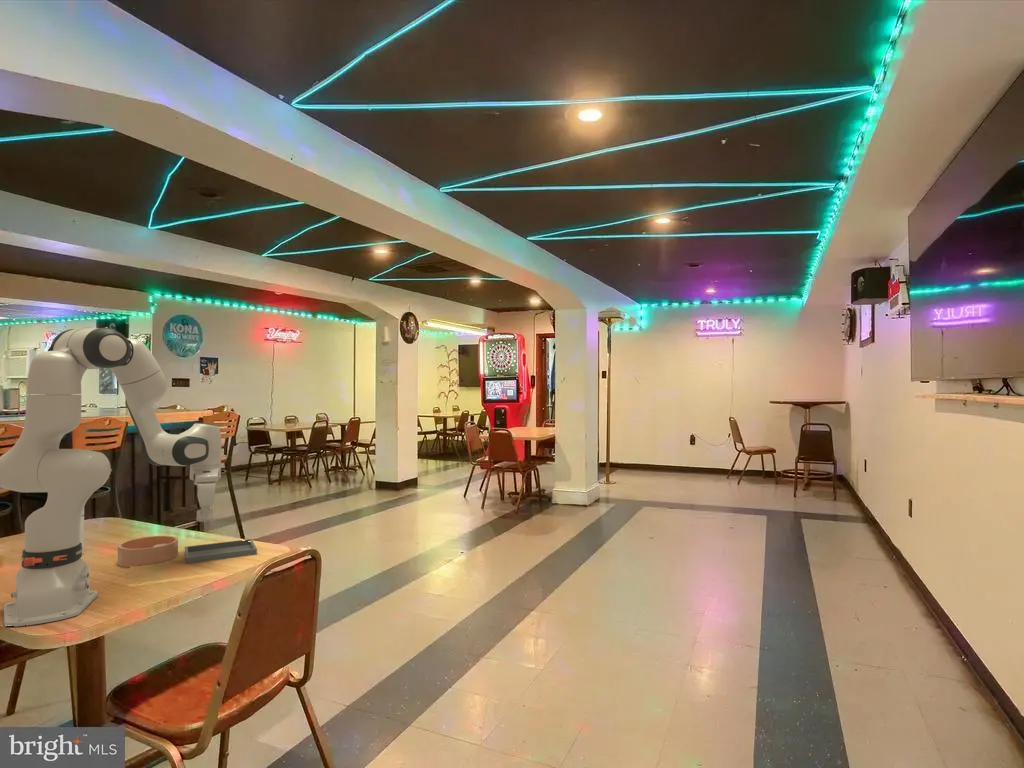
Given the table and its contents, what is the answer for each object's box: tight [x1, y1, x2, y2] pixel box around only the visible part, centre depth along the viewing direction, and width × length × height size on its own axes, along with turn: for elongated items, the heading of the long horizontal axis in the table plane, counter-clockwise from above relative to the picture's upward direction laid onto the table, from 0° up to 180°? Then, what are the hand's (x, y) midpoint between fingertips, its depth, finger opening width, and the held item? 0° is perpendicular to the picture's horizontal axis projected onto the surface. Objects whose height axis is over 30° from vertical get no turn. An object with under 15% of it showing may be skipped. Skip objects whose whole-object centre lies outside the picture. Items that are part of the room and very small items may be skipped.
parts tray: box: [184, 538, 258, 565], centre depth 188 cm, size 14×20×2 cm
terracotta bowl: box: [117, 535, 179, 568], centre depth 183 cm, size 16×16×6 cm
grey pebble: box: [196, 508, 214, 523], centre depth 186 cm, size 4×4×3 cm
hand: (204, 516), depth 186 cm, fingers closed on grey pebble, 4 cm apart
